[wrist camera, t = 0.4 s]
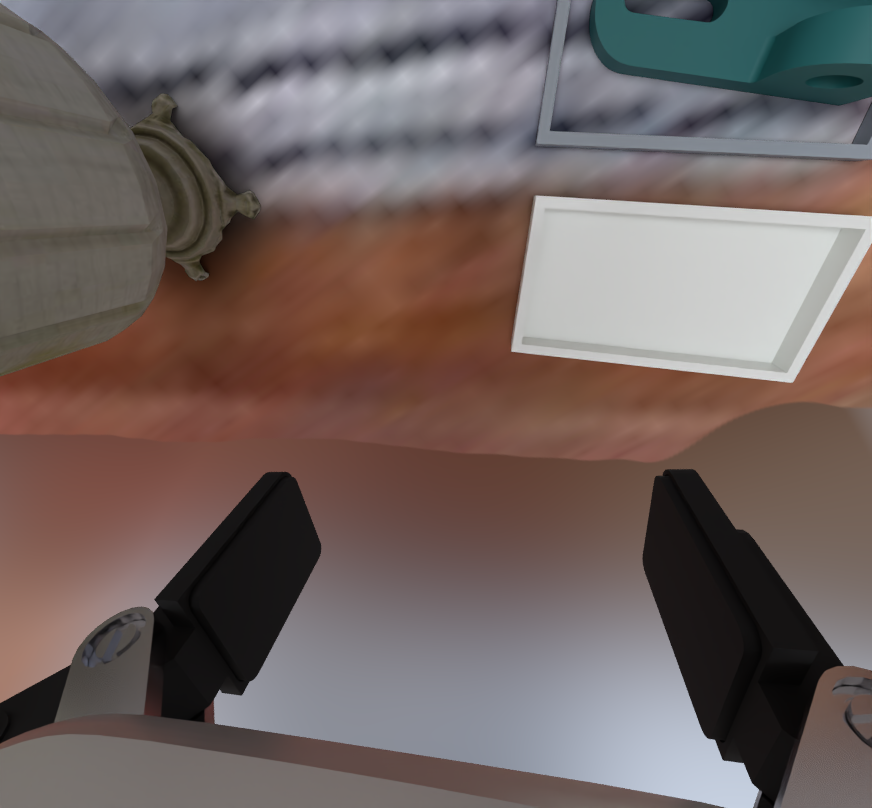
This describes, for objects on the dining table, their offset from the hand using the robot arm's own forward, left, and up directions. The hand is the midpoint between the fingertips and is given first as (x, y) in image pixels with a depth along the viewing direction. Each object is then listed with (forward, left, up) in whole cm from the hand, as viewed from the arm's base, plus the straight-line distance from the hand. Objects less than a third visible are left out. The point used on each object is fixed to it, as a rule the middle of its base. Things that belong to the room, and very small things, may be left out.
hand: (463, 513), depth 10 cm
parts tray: (-1, +14, -29) cm, 32 cm away
